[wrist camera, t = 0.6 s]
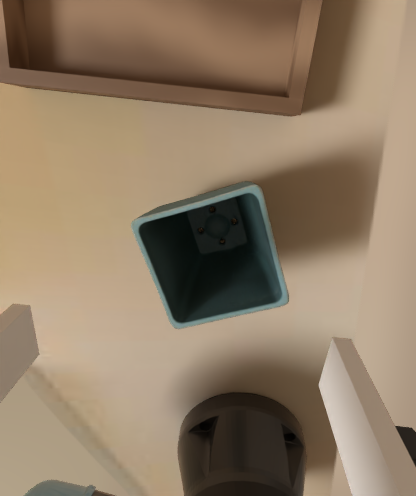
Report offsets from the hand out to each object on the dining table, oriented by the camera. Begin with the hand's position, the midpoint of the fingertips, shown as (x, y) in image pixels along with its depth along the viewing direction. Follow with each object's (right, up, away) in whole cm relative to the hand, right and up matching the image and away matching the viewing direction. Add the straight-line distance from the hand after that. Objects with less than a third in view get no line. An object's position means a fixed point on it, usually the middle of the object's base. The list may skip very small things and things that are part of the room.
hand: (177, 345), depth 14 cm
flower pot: (+2, +6, +16) cm, 17 cm away
